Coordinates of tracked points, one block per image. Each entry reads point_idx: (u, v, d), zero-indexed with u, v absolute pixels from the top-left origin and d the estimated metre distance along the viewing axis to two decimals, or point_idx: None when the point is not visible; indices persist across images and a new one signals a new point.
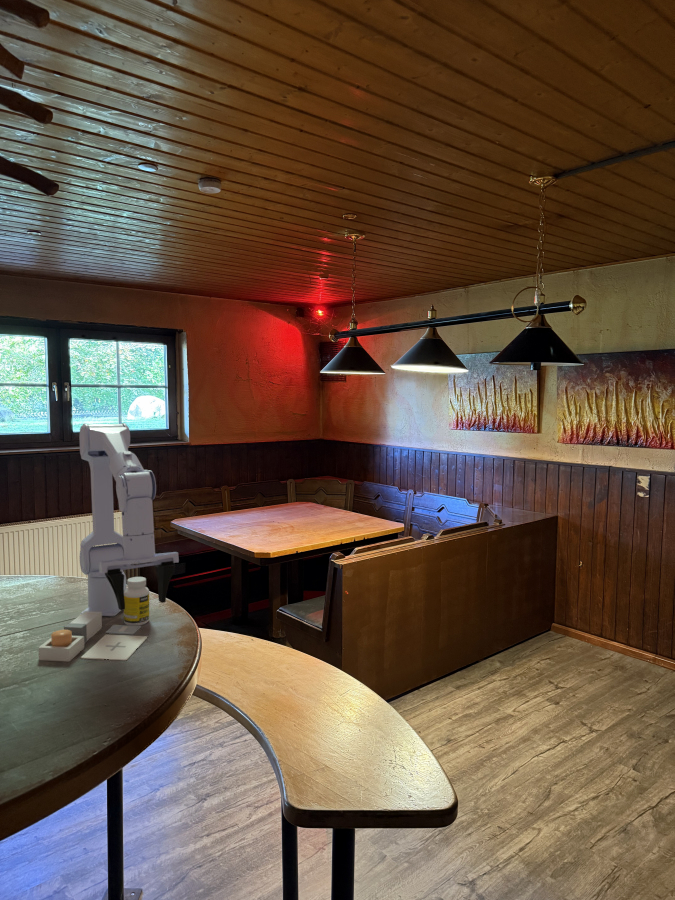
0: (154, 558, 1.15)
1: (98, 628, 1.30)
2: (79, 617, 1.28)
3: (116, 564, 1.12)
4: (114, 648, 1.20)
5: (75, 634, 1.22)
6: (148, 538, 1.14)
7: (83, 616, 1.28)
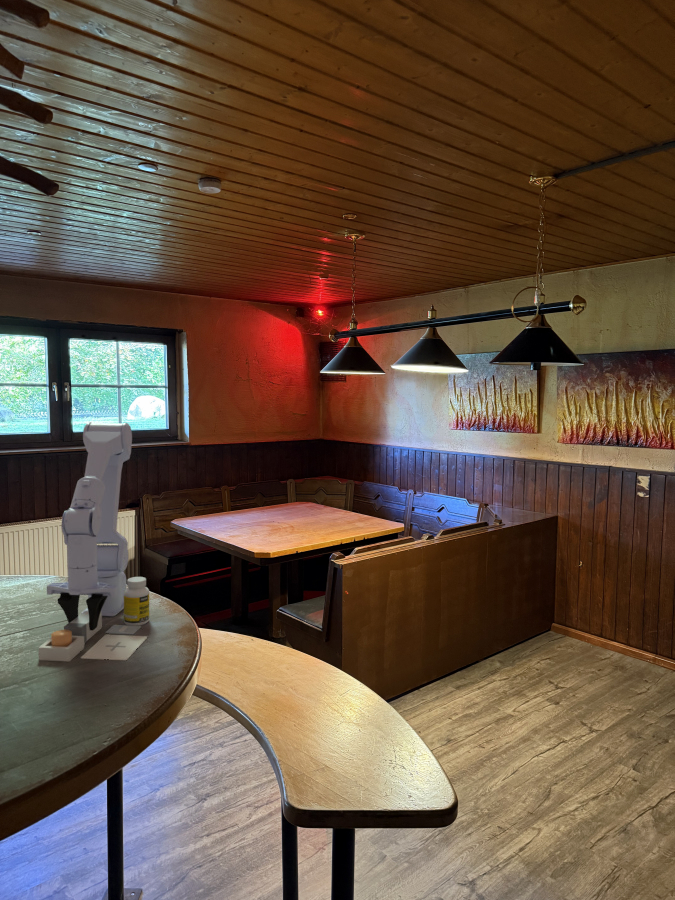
0: (87, 591, 1.23)
1: (98, 628, 1.30)
2: (79, 617, 1.28)
3: (57, 589, 1.25)
4: (114, 648, 1.20)
5: (75, 634, 1.22)
6: (81, 572, 1.23)
7: (83, 616, 1.28)
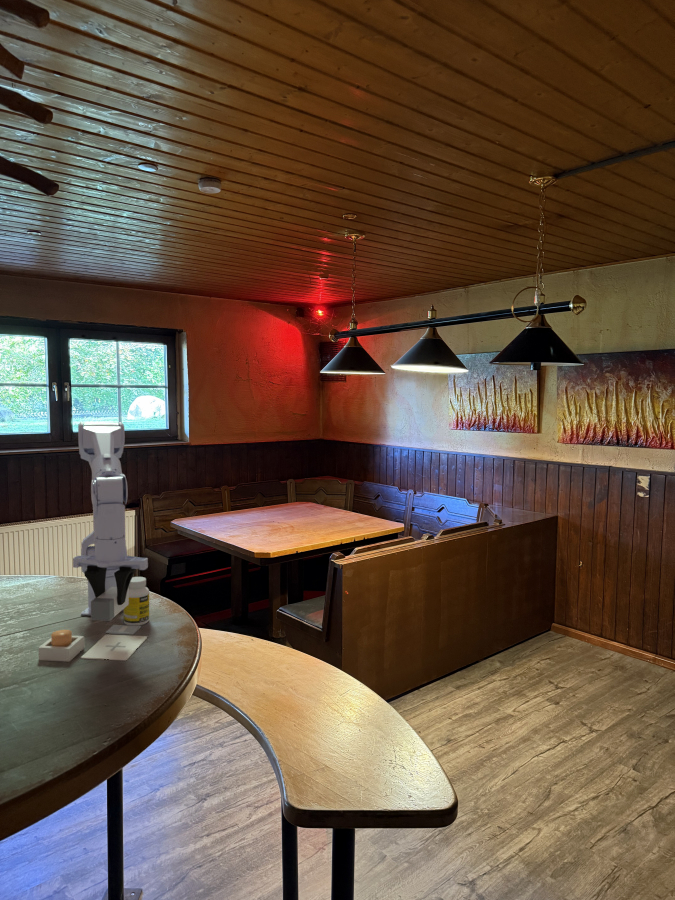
0: (115, 563, 1.18)
1: (125, 604, 1.24)
2: (106, 592, 1.22)
3: (83, 562, 1.19)
4: (114, 648, 1.20)
5: (102, 609, 1.16)
6: (109, 543, 1.17)
7: (110, 591, 1.22)
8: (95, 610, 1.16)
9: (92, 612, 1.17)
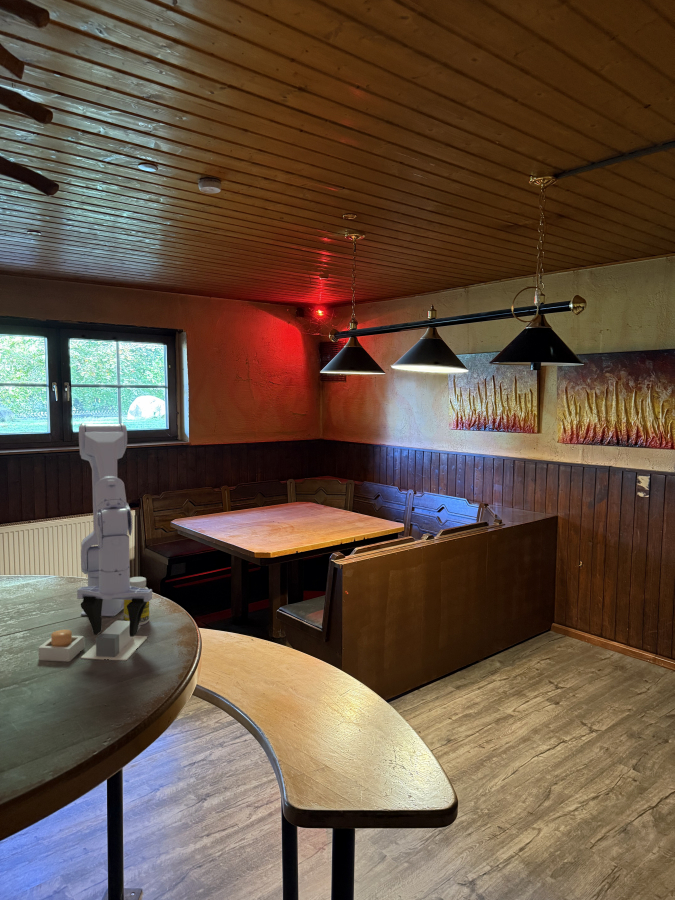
0: (119, 595, 1.18)
1: (130, 638, 1.24)
2: (110, 627, 1.22)
3: (88, 593, 1.19)
4: None
5: (108, 645, 1.17)
6: (114, 575, 1.17)
7: (114, 626, 1.22)
8: (100, 646, 1.17)
9: (98, 648, 1.17)
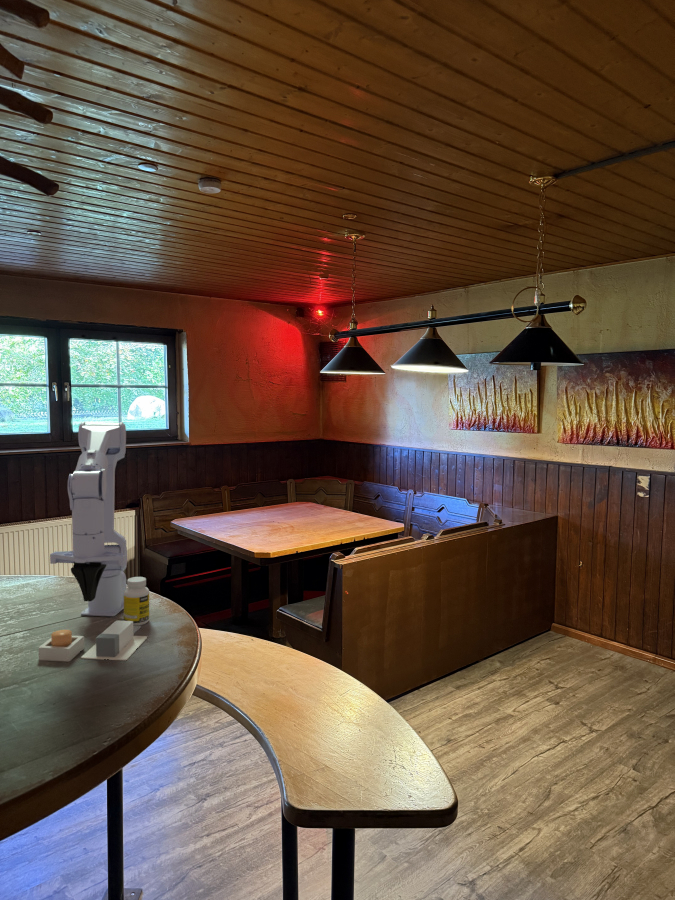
0: (93, 559, 1.15)
1: (130, 638, 1.24)
2: (110, 627, 1.22)
3: (61, 558, 1.17)
4: None
5: (108, 645, 1.17)
6: (88, 539, 1.15)
7: (114, 626, 1.22)
8: (100, 646, 1.17)
9: (98, 648, 1.17)
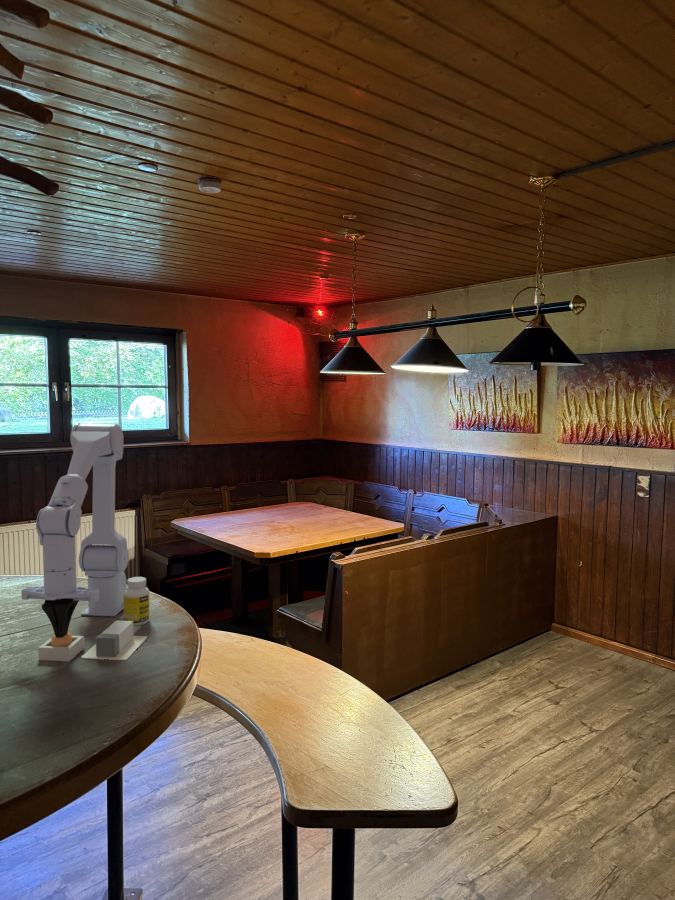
0: (64, 596, 1.14)
1: (130, 638, 1.24)
2: (110, 627, 1.22)
3: (32, 594, 1.16)
4: None
5: (108, 645, 1.17)
6: (58, 575, 1.14)
7: (114, 626, 1.22)
8: (100, 646, 1.17)
9: (98, 648, 1.17)
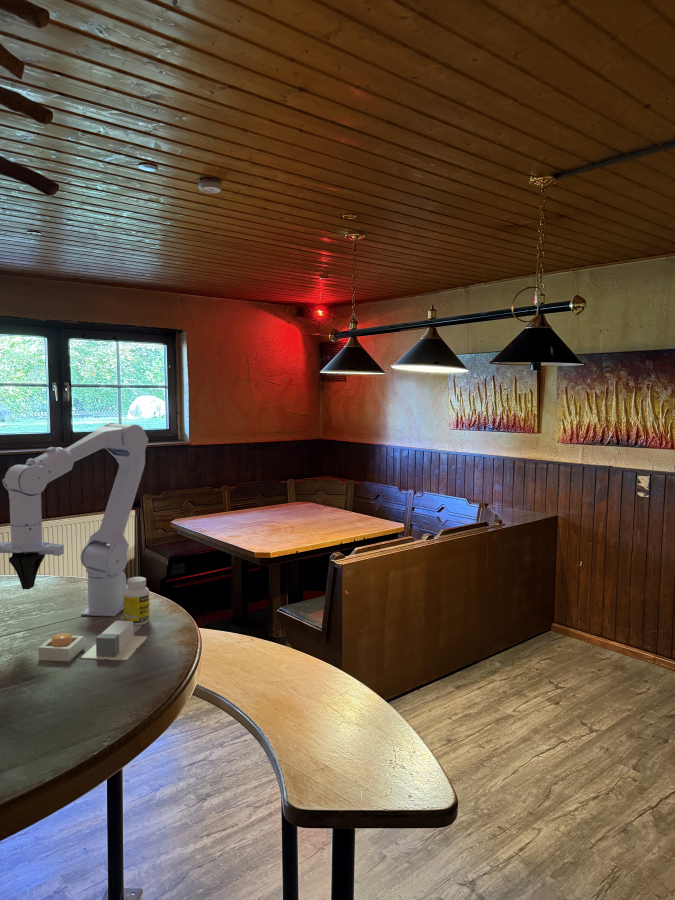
0: (30, 549, 1.21)
1: (130, 638, 1.24)
2: (110, 627, 1.22)
3: (0, 548, 1.23)
4: None
5: (108, 645, 1.17)
6: (24, 530, 1.21)
7: (114, 626, 1.22)
8: (100, 646, 1.17)
9: (98, 648, 1.17)
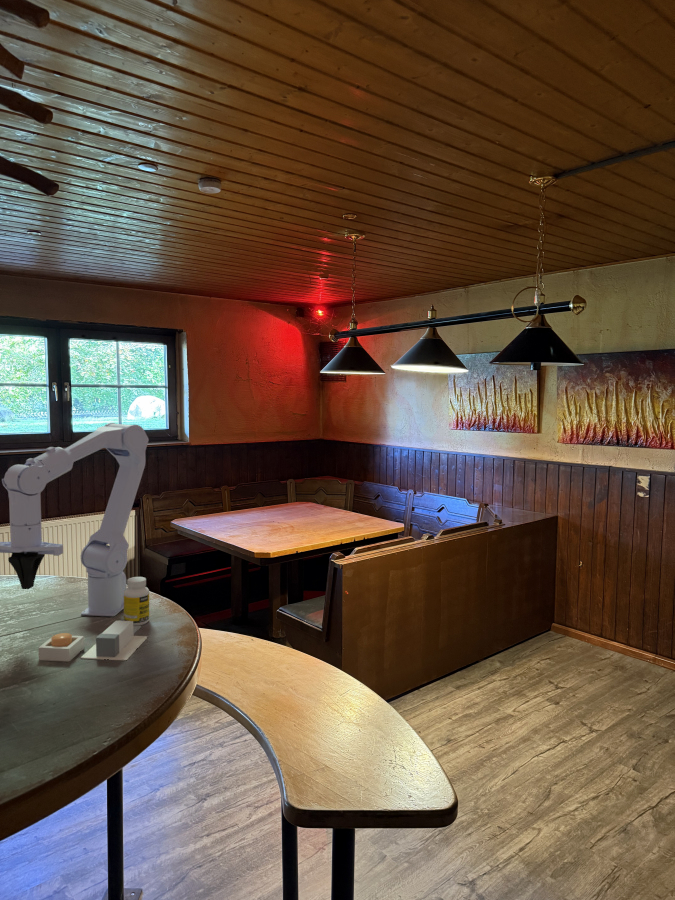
0: (29, 549, 1.22)
1: (130, 638, 1.24)
2: (110, 627, 1.22)
3: None
4: None
5: (108, 645, 1.17)
6: (24, 530, 1.21)
7: (114, 626, 1.22)
8: (100, 646, 1.17)
9: (98, 648, 1.17)
